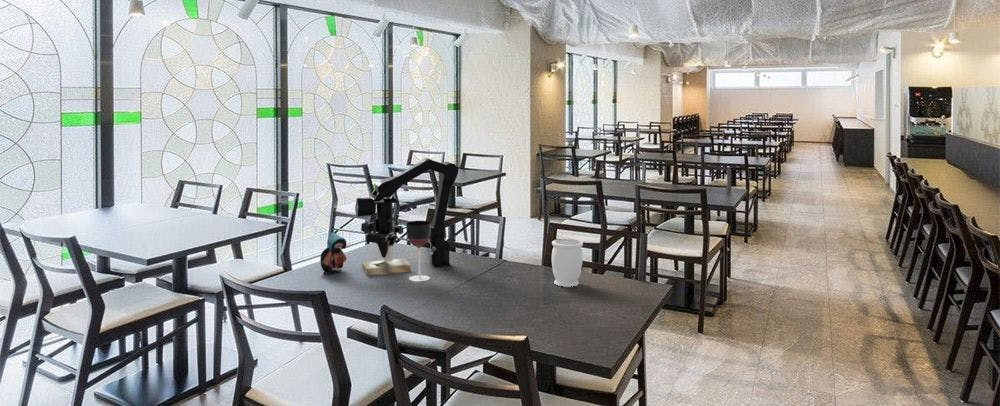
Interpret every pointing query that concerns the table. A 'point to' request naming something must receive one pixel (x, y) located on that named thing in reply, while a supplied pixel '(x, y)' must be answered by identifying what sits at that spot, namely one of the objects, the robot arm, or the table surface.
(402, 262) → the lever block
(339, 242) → the figurine
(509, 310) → the table surface
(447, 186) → the robot arm
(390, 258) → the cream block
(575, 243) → the jar
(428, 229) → the wineglass
